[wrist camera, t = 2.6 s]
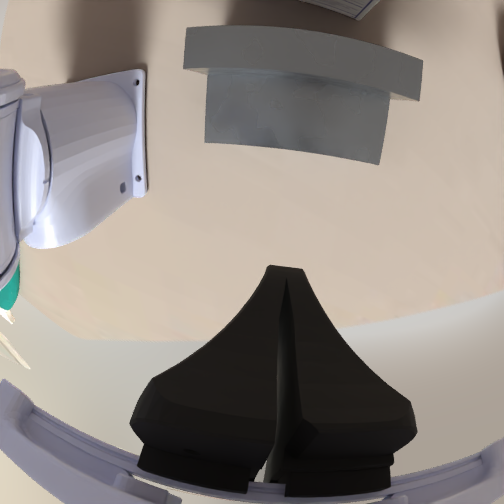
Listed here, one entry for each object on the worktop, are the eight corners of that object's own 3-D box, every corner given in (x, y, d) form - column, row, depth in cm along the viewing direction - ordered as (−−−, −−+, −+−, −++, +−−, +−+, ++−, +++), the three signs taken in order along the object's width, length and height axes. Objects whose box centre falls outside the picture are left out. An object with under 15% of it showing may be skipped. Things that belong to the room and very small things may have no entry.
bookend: (368, 157, 16) (403, 185, 11) (214, 137, 16) (180, 156, 11) (380, 70, 13) (423, 60, 8) (219, 49, 13) (186, 27, 8)
